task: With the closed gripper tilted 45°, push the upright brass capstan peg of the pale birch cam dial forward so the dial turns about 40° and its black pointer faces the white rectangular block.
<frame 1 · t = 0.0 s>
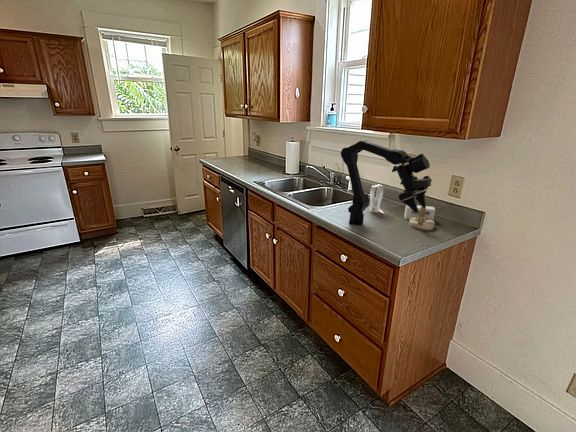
hand: (421, 209, 138), 15 cm above the counter, tool tilted 35°, fingers open, 9 cm apart
beer glass: (374, 211, 181), on the counter
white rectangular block: (418, 219, 170), on the counter
cam dial: (423, 215, 158), point 6 cm above the counter, hinge at -40.0°
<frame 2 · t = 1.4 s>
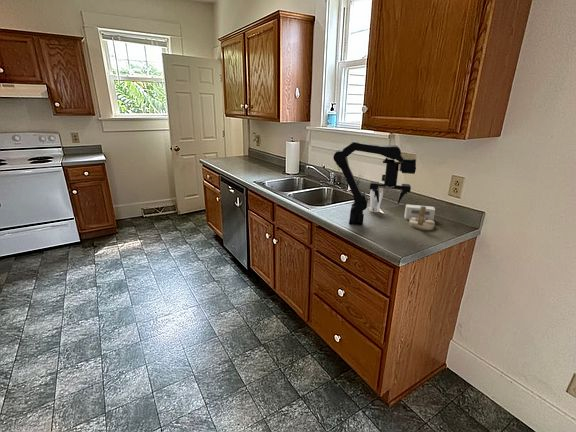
hand: (387, 203, 155), 12 cm above the counter, tool pointing down, fingers open, 9 cm apart
nothing on the counter moved.
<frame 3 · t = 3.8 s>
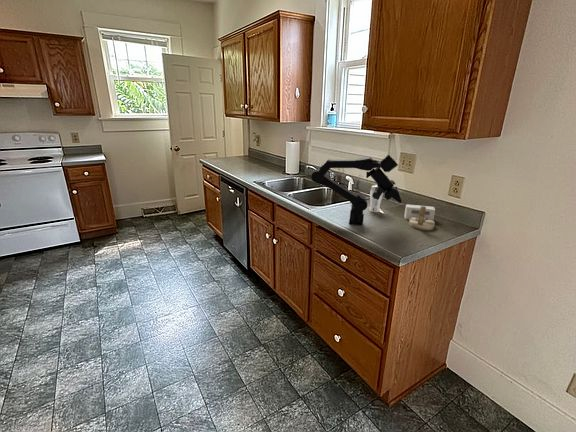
hand: (400, 202, 154), 13 cm above the counter, tool tilted 45°, fingers closed
nothing on the counter moved.
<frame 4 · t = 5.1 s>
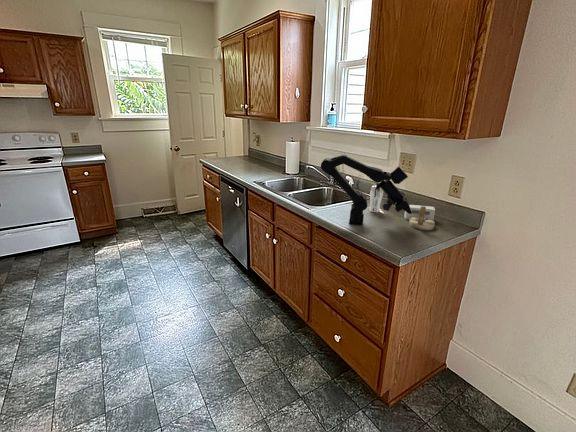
hand: (410, 213, 155), 8 cm above the counter, tool tilted 45°, fingers closed
nothing on the counter moved.
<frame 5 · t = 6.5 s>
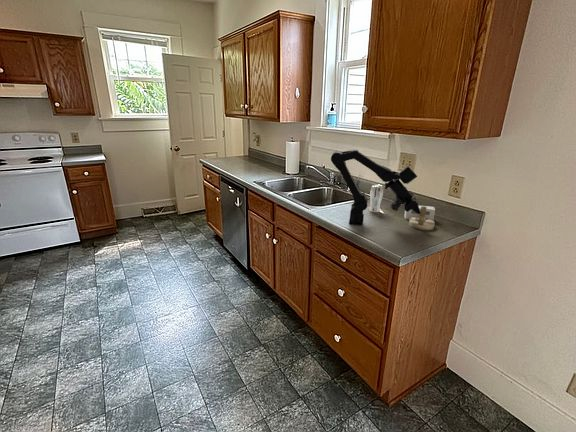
hand: (419, 213, 154), 8 cm above the counter, tool tilted 45°, fingers closed, pressing on cam dial
cam dial: (423, 215, 158), point 6 cm above the counter, hinge at -37.0°, touching gripper
everything else where it was.
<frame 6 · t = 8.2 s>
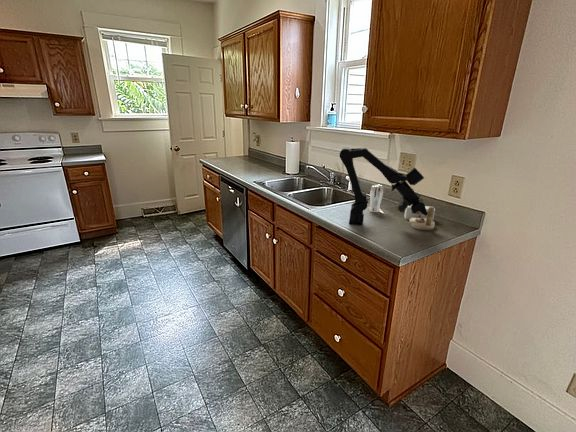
hand: (426, 215, 153), 8 cm above the counter, tool tilted 45°, fingers closed
cam dial: (423, 215, 158), point 6 cm above the counter, hinge at 6.5°
everything else where it was.
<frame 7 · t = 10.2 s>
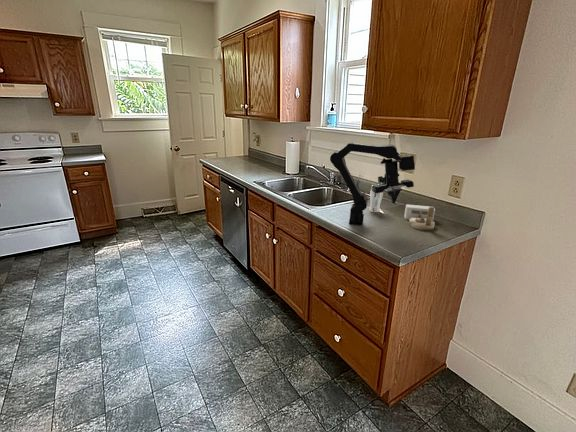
hand: (393, 203, 153), 13 cm above the counter, tool pointing down, fingers closed
nothing on the counter moved.
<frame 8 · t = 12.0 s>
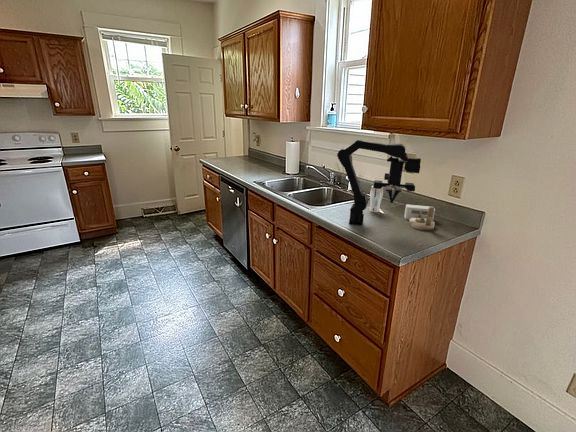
hand: (391, 202, 153), 13 cm above the counter, tool pointing down, fingers closed
nothing on the counter moved.
at the end: cam dial at +6° (first picture: -40°); beer glass moved 0.2 cm from its start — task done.
